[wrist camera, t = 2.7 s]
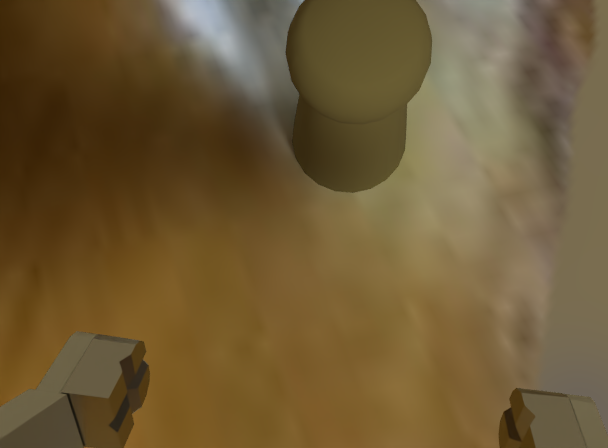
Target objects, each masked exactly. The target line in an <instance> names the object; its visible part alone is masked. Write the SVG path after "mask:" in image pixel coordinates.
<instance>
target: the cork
mask: <svg viewBox="0 0 608 448" xmlns="http://www.w3.org/2000/svg"><path fill="white" fill-rule="evenodd" d="M431 50H432V37H431V32H430V28H429V25H428V21H427V18H426V14H425V13H424V11H423V10H422V8H421V7H420V6H419V4H418V3H417V1H416V0H305V1H304V2H303V3H302V4H301V5H300V6H299V8H298V10H297V12H296V14H295V16H294V18H293V20H292V22H291V24H290V27H289V31H288V36H287V45H286V58H287V63H288V67H289V71H290V76H291V80H292V82H293V84H294V85H295V87H296V89H297V90H298V92H299V93H300V94H299V99H298V105H297V110H296V116H295V122H294V129H293V138H292V143H293V147H294V152H295V156H296V159H297V161H298V162H299V164H300V165H301V167H302V169H303V170H304V172H305V173H306V174H307V175H308V176H309V177H311V178H312V179H313V180H314V181H315V182H316V183H318V184H319V185H322V186H324V187H326V188H329V189H331V190H334V191H341V192H352V193H353V192H358V191H362V190H367V189H371V188H373V187H374V186H376V185H378V184H380V183H381V182H383V181H385V180H386V179H387V178H388V177H389V176H390V175H391V174H392V173H393V171H394V170H395V169H396V168H397V167H398V165H399V163H400V161H401V158H402V156H403V153H404V151H405V140H406V119H407V103H408V102H409V101H410V100H411V99H412V98H413V97H414V95H415V94H416V93H417V92H418V91H419V89H420V87H421V85H422V82H423V80H424V78H425V75H426V73H427V71H428V68H429V66H430V64H431Z"/></svg>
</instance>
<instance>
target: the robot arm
mask: <svg viewBox="0 0 608 448" xmlns="http://www.w3.org/2000/svg"><path fill="white" fill-rule="evenodd" d="M145 353H146V349H145V345H144V342H143V341H139V340H132V339H126V338H120V337H113V336H107V335H100V334H93V333H86V332H78V331H77V332H75V333H74V334H73V335H72V336H70V338H69V339H68V341H67V342H66V344H65V345H64V347H63V348H62V350H61V352H60V353H59V355H58V356H57V358H56V359H55V361H54V362H53V364H52V365H51V367H50V368H49V370H48V371H47V373H46V375H45V376H44V378H43V379H42V381H41V382H40V384H39V385H38V387H37V388H36V390H33V389H28V390H27V391H25V392H24V393H22V394H20V395H19V396H17V397H16V398H14V399H12V400H11V401H9V402H7V403H6V404H4V405H3V406H1V407H0V448H84V447H91V448H124V446H125V444H126V441H127V439H128V437H129V434H130V432H131V430H132V428H133V425H134V421H133V417H132V413H134V412H135V411H136V410H138V409H139V408H140V407H142V405H143V402H144V400H145V397H146V395H147V390H148V386H149V380H150V371H149V365H148V364H147V363H146V362H145V361H144V360H143V357H144V355H145ZM509 399H510V404H511V408H509V409H508V410H506V411H504V412H503V415H502V417H501V420H500V426H499V446H500V448H608V435H607V432H606V430H605V427H604V425H603V422H602V420H601V417H600V415H599V412H598V410H597V407H596V405H595V402H594V401H593V400H592V399H591V398H590V397H584V396H577V395H569V394H562V393H556V392H547V391H539V390H530V389H521V388H516V389H515V390H513V392H512V394H511V396H510V398H509Z"/></svg>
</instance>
